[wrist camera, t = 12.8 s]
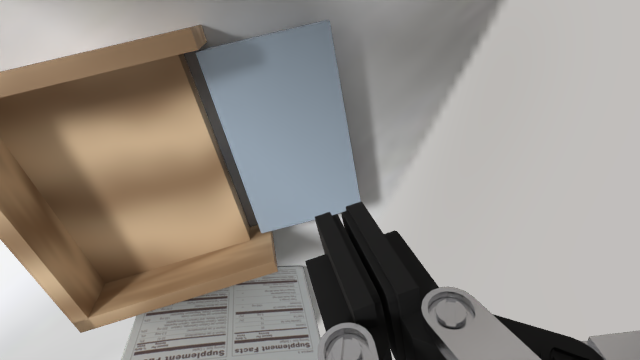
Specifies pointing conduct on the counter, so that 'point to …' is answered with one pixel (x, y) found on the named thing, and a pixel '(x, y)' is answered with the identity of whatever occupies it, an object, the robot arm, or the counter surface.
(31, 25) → the counter surface
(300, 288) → the supplement box
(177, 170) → the crate
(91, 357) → the counter surface
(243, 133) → the panel
